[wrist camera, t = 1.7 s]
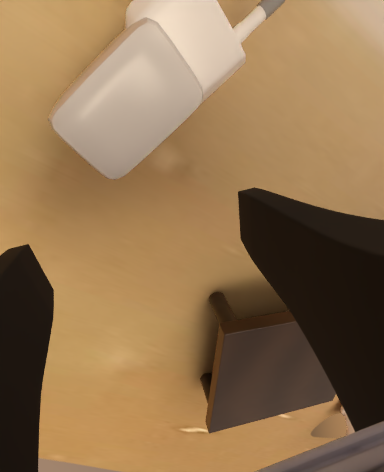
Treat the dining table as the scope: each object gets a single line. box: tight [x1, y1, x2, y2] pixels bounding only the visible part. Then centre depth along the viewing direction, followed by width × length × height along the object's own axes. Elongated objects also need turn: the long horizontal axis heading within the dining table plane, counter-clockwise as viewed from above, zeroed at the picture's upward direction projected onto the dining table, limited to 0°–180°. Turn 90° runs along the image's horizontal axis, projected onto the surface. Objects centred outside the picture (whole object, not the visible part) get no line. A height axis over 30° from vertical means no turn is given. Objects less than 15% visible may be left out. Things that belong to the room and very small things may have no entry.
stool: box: [200, 292, 336, 433], centre depth 29 cm, size 14×14×5 cm
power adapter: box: [48, 0, 285, 180], centre depth 14 cm, size 11×5×6 cm, turn 129°
